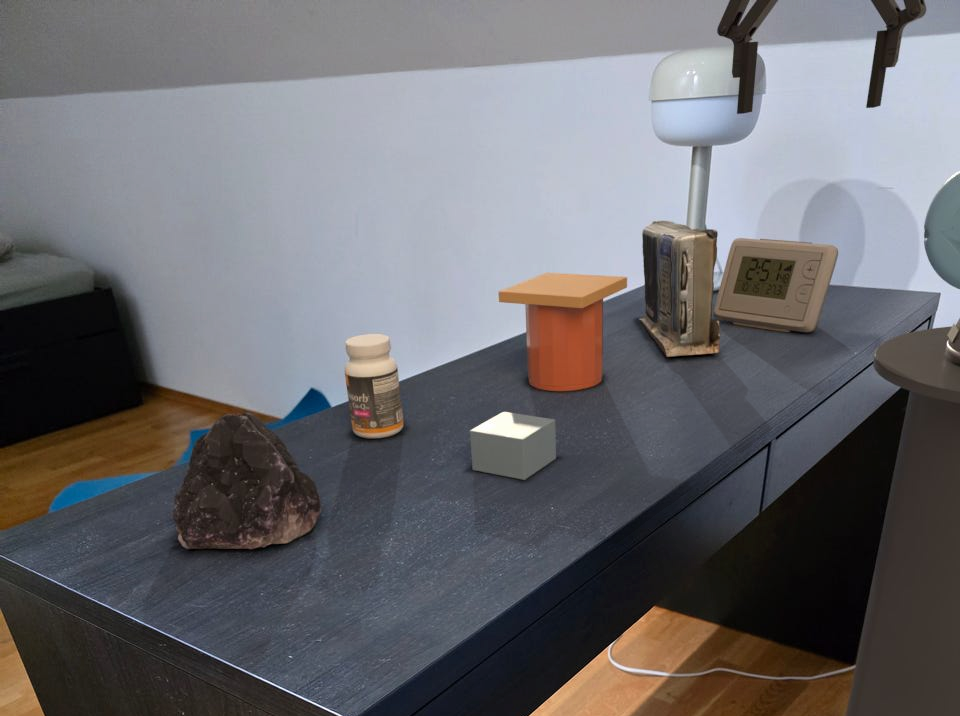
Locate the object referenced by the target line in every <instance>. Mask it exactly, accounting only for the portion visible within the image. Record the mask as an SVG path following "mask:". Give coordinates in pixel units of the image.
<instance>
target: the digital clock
mask: <svg viewBox="0 0 960 716" xmlns="http://www.w3.org/2000/svg"><path fill="white" fill-rule="evenodd" d="M838 249H839V248H837V246H835V245H832V244H825V243H824V244H823V243H813V242H808V241H796V240H783V239H769V238H745V237H738V238H735V239H734V240H733V241H732V243H731V245H730V248H729V251H728V255H727V259H726V263H725V267H724V270H723V274H722V277H721V281H720V285H719V288H718V289H719V290H718V293H717V297H716V300H715V304H714V309H713V317H714V318H715V319H716V320H718V321H726V322H731V323H732V324H733V325H736V326H737V325H738V326H743V327H751V328H756V329H757V328H758V329H762V330H763V329H765V330H770V331H776V332H784V333H791V332H792V331H793V332H799V333H812V332H814V331H815V330H816V328H817V326H818V324H819V320H820V317H821V314H822V312H823V307H824V304H825V301H826V297H827V294H828V292H829V289H830V284H831V282H832V278H833V274H834V271H835V267H836V264H837V261H838V258H839V257H838V256H839V250H838Z"/></svg>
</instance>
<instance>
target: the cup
mask: <svg viewBox="0 0 960 716" xmlns="http://www.w3.org/2000/svg"><path fill="white" fill-rule="evenodd" d="M524 308H525V331H526V332H525V333H526V358H527V359H526V362H527V378H528V384H529V385H530V386H531V387H533V388H535V389H538V390H542V391H548V392H549V391H550V392H574V391H580V390H584V389H588V388H592V387H594V386H595V387H596V386H597V385H599V384H600V383H601V382H602V380H603V371H604V298H603V299H601V300H599V301H597V302H595V303H593V304H591V305H589V306H586V307H584V308H570V307H557V306H543V305H530V304H524Z"/></svg>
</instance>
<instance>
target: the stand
mask: <svg viewBox="0 0 960 716" xmlns="http://www.w3.org/2000/svg"><path fill="white" fill-rule="evenodd" d="M556 433H557V432H556V419H554V418H548V417H541V416H534V415H528V414H522V413H515V412H508V411H502V412H500V413H498V414H496V415H495V416H493V417H491V418H489V419H488V420H486V421H484V422H483V423H480V424H479V425H477V426H475V427H474V428H472V429H470V430H469V441H470V455H471V468H472V471H476V472H482V473H487V474H491V475H497V476H500V477H506V478H511V479H517V480H523V481H525V480H527V479H528V478H529V477H531V476H532V475H534V474H535V473H537V472H538V471H540V470H542V469H543V468H544V467H546V466H547V465H549V464H550V463H552V462H554V461H555V460H557V436H556Z"/></svg>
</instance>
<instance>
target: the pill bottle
mask: <svg viewBox="0 0 960 716" xmlns="http://www.w3.org/2000/svg"><path fill="white" fill-rule="evenodd" d="M344 344H345V352H346V354H347V357H349V361H347V363H345V366H344V378H345V384H346V385H345V386H346V393H347V399H348V400H347V401H348V406H349V407H348V408H349V415H350V422H351V429H352V432H353V433H354V434H355V435H356V436H357V437H360V438H364V439H367V440H368V439H369V440H371V439H375V440H376V439H383V438H384V439H385V438H390V437H392V436H394V435H397V434H399V433H400V432H401V431H402V430H403V428H404V415H403V414H404V413H403V404H402V397H401V396H402V395H401V389H400V379H399V370H398V368H399V367H398V364H397V361H396V360H395V359H394V358H393V357H392V356H390V352H391V349H392V345H391V339H390V337H389V336H388V335H387V334H386V335H385V334H381V333H367V334H359V335H355V336H352V337H350V338H347V339H346V340H345V342H344Z"/></svg>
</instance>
